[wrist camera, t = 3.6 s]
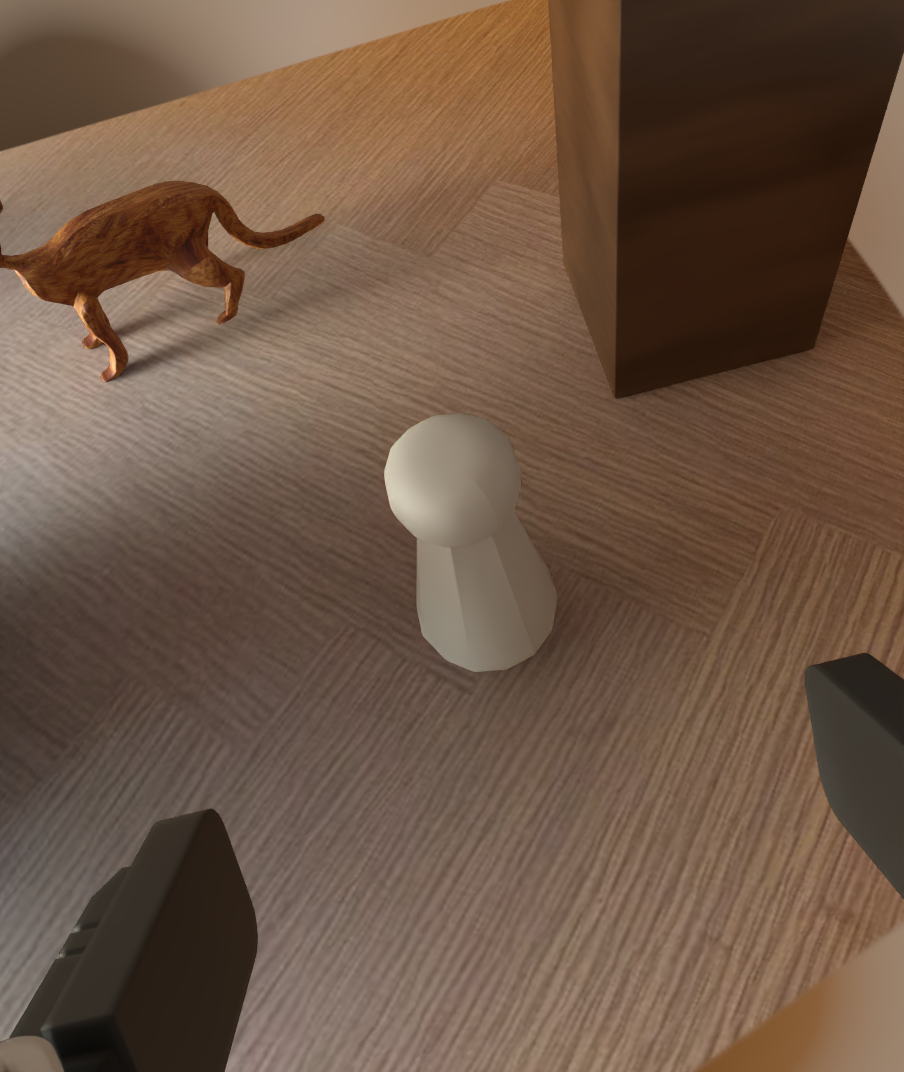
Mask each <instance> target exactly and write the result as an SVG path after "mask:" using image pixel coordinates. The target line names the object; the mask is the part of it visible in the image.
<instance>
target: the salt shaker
mask: <svg viewBox="0 0 904 1072" xmlns="http://www.w3.org/2000/svg"><path fill="white" fill-rule="evenodd" d="M384 476H385V485H386V489H387V494H388V498H389V502H390V507H391V509H392V511H393V513H394V515H395V516H396V518H397V519H398V520H399V521H400V522H401V523H402V524H403V525H404V526H405V527H406V528H407V529H408V530H409V531H410V532H411V533H412V534H413V535H414V536H415V537H417V612H418V617H419V622H420V626H421V631H422V636H423V637H424V638H425V639H426V640H427V641H428V642H429V643H430V644H431V645H432V646H433V647H434V648H435V649H436V651H437V652H438V653H439V654H440V655H441V656H442V657H443V658H444V659H445V660H446V661H448V662H451V663H453V664H456V665H458V666H461V667H463V668H466V669H468V670H470V671H473V672H483V671H495V670H507V669H509V668H510V667H512V666H514V665H516V664H518V663H520V662H522V661H524V660H526V659H528V658H529V657H531V656H533V655H534V654H535V653H536V652H537V650H538V649H539V648H540V646H541V645H542V644H543V642H544V641H545V640H546V638H547V637H548V635H549V634H550V633H551V631H552V629H553V623H554V617H555V611H556V605H557V600H558V595H557V592H556V589H555V586H554V584H553V581H552V578H551V575H550V572H549V569H548V568H547V566H546V564H545V562H544V561H543V559H542V557H541V556H540V554H539V552H538V550H537V549H536V547H535V545H534V544H533V542H532V540H531V539H530V537H529V535H528V533H527V532H526V530H525V528H524V527H523V525H522V523H521V521H520V520H519V518H518V516H517V515H516V513H515V511H514V510H515V508H516V505H517V501H518V496H519V492H520V487H521V482H522V479H521V469H520V467H519V464H518V461H517V458H516V456H515V453H514V450H513V447H512V445H511V443H510V441H509V439H508V437H507V436H506V435H505V434H504V433H503V432H502V431H501V430H500V429H499V428H497V427H496V426H495V425H494V424H493V423H492V422H491V421H490V420H488V419H485V418H481V417H477V416H473V415H470V414H466V413H453V414H443V415H434V416H432V417H430V418H428V419H426V420H424V421H422V422H420V423H418V424H416V425H414V426H412V427H410V428H409V429H408V430H407V431H406V432H405V433H404V434H403V435H402V436H401V437H400V439H399V440H398V441H397V442H396V443H395V444H394V445H393V446H392V447H391V449H390V453H389V456H388V460H387V464H386V467H385V471H384Z"/></svg>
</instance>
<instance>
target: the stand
mask: <svg viewBox="0 0 904 1072" xmlns="http://www.w3.org/2000/svg"><path fill="white" fill-rule="evenodd" d="M548 2H549V19H550V37H551V54H552V72H553V89H554V107H555V124H556V142H557V159H558V177H559V194H560V212H561V229H562V247H563V263H564V266H565V269H566V271H567V274H568V276H569V279H570V282H571V284H572V287H573V290H574V292H575V295H576V297H577V300H578V303H579V305H580V308H581V311H582V313H583V316H584V318H585V321H586V324H587V326H588V329H589V332H590V334H591V337H592V339H593V342H594V345H595V347H596V350H597V353H598V355H599V358H600V360H601V363H602V366H603V368H604V371H605V374H606V376H607V379H608V381H609V384H610V387H611V389H612V392H613V395H614V397H615V398H619V397H623V396H627V395H631V394H635V393H639V392H643V391H647V390H651V389H655V388H659V387H663V386H667V385H671V384H675V383H679V382H683V381H686V380H690V379H694V378H698V377H702V376H706V375H710V374H714V373H718V372H722V371H726V370H730V369H734V368H738V367H742V366H746V365H750V364H754V363H757V362H761V361H765V360H769V359H773V358H777V357H781V356H785V355H789V354H793V353H797V352H801V351H805V350H809V349H813V348H814V346H815V343H816V339H817V336H818V333H819V330H820V326H821V323H822V320H823V316H824V313H825V310H826V307H827V303H828V300H829V297H830V293H831V290H832V287H833V283H834V280H835V277H836V274H837V270H838V267H839V264H840V260H841V257H842V254H843V251H844V247H845V244H846V241H847V237H848V234H849V230H850V228H851V224H852V221H853V217H854V214H855V211H856V208H857V204H858V201H859V198H860V194H861V191H862V188H863V185H864V181H865V178H866V175H867V172H868V168H869V164H870V162H871V158H872V155H873V152H874V149H875V145H876V142H877V139H878V135H879V132H880V129H881V125H882V122H883V119H884V116H885V112H886V109H887V106H888V102H889V99H890V96H891V92H892V89H893V86H894V82H895V79H896V76H897V73H898V70H899V66H900V63H901V60H902V56H903V53H904V0H548Z"/></svg>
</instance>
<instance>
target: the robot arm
mask: <svg viewBox="0 0 904 1072" xmlns="http://www.w3.org/2000/svg"><path fill="white" fill-rule="evenodd" d="M805 687H806V694H807V700H808V706H809V712H810V719H811V725H812V731H813V737H814V744H815V750H816V756H817V762H818V769H819V774H820V778H821V782H822V785H823V788H824V791H825V794H826V797H827V799H828V801H829V803H830V806H831V808H832V810H833V811H834V813H835V815H836V816H837V818H838V820H839V821H840V822H841V823H842V825H843V826H844V827H845V828H846V830H847V831H848V832H849V833H850V834H851V836H852V837H853V838H854V839H855V840H856V842H857V843H858V844H859V845H860V847H861V848H862V849H863V850H864V851H865V853H866V854H867V855H868V856H869V857H870V859H871V860H872V861H873V862H874V864H875V865H876V866H877V867H878V868H879V870H880V871H881V872H882V873H883V874H884V876H885V877H886V878H887V879H888V881H889V882H890V883H891V884H892V885H893V887H894V888H895V889H896V890H897V891H898V893H899V894H900V895H901V896H902V898H903V899H904V679H902V678H901V677H900V676H898V675H897V674H896V673H894V672H893V671H892V670H890V669H889V668H888V667H886V666H885V665H884V664H882V663H881V662H880V661H878V660H877V659H876V658H874V657H873V656H871V655H870V654H868V653H861V654H857V655H853V656H849V657H845V658H841V659H836V660H832V661H828V662H824V663H820V664H816V665H811V666H809V667H807V669H806V672H805ZM74 930H75V932H74V933H71V934H70V935H69V937H68V939H67V940H66V942H65V944H64V945H63V947H62V949H61V951H60V952H59V954H60V958H59V959H55V961H54V963H53V964H52V966H51V968H50V969H49V971H48V973H47V974H46V976H45V978H44V980H43V981H42V983H41V985H40V986H39V988H38V990H37V991H36V993H35V995H34V997H33V998H32V1000H31V1002H30V1003H29V1005H28V1007H27V1008H26V1010H25V1012H24V1014H23V1015H22V1017H21V1019H20V1020H19V1022H18V1024H17V1025H16V1027H15V1029H14V1031H13V1032H12V1034H11V1036H10V1037H9V1039H7V1040H3V1041H1V1042H0V1072H225V1068H226V1064H227V1061H228V1057H229V1053H230V1050H231V1046H232V1042H233V1039H234V1035H235V1031H236V1028H237V1024H238V1020H239V1017H240V1013H241V1009H242V1006H243V1002H244V999H245V995H246V991H247V988H248V984H249V980H250V977H251V973H252V969H253V966H254V962H255V958H256V954H257V944H258V933H257V922H256V916H255V911H254V907H253V904H252V901H251V898H250V895H249V893H248V890H247V887H246V884H245V881H244V879H243V876H242V873H241V870H240V867H239V865H238V862H237V859H236V856H235V853H234V851H233V848H232V845H231V842H230V839H229V837H228V834H227V831H226V828H225V826H224V823H223V821H222V819H221V817H220V815H219V814H218V813H217V812H216V811H215V810H214V809H207V810H203V811H199V812H194V813H190V814H186V815H182V816H178V817H174V818H169V819H165V820H161V821H158V822H156V823H155V824H154V825H153V827H152V828H151V830H150V832H149V834H148V835H147V837H146V839H145V841H144V843H143V845H142V846H141V848H140V850H139V852H138V854H137V855H136V857H135V859H134V861H133V863H132V865H131V866H129V867H125V868H122V869H121V870H120V871H118V872H117V873H116V874H115V875H114V876H113V877H112V878H111V879H110V880H109V881H108V882H107V883H106V884H105V885H104V886H103V887H102V888H101V889H100V890H99V891H98V892H97V893H96V894H95V895H94V896H93V897H92V898H91V900H90V901H89V903H88V905H87V906H86V908H85V910H84V911H83V913H82V915H81V917H80V918H79V920H78V922H77V923H76V925H75V927H74Z"/></svg>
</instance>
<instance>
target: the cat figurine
mask: <svg viewBox="0 0 904 1072" xmlns="http://www.w3.org/2000/svg"><path fill="white" fill-rule="evenodd" d="M2 209H3V206H2V203H1V201H0V213H1V211H2ZM213 212H215V214H216V217H217V218H218V220H219V222H220V223H221V225H222V226H223V227H224V228H225V230H226V231H227V232H228V233H229V234H230V235H231V236H232V237H234V238H235V239H236V240H238V241H239V242H241V243H243V244H245V245H247V246H250V247H253V248H259V249H266V248H273V247H277V246H280V245H283V244H286V243H288V242H290V241H292V240H294V239H296V238H298V237H300V236H302V235H303V234H305V233H307V232H308V231H310V230H312V229H314V228H315V227H317V226H318V225H320V224H321V223H322V222H323V221H324V216H322V215H321V214H315V215H312V216H309V217H307V218H305V219H303V220H301V221H299V222H297V223H295V224H294V225H292V226H289V227H287V228H285V229H283V230H279V231H274V232H266V233H260V232H254V231H252V230H250V229H249V228H247V227H246V226H245V225H244V224H242V222H241V221H240V220H239V219H238V217H237V215H236V214H235V212H234V210H233V208H232V207H231V205H230V204H229V202H228V201H227V200H226V199H225V198H224V197H223V196H222V195H221V194H220V193H219V192H217V191H215V190H213V189H212V188H210V187H208V186H205V185H201V184H197V183H193V182H184V181H167V182H162V183H157V184H154V185H151V186H148V187H145V188H143V189H141V190H138V191H136V192H133V193H131V194H128V195H126V196H123V197H120V198H117V199H115V200H112V201H109V202H107V203H104V204H102V205H99V206H97V207H95V208H92V209H90V210H87V211H85V212H83V213H82V214H80V215H78V216H77V217H75V218H73V219H72V220H70V221H69V222H68V223H67V224H66V225H64V226H63V227H62V228H61V229H60V230H59V231H58V232H57V233H56V235H55V236H54V237H53V238H52V239H51V240H50V241H49V242H47V243H46V244H45V245H44V246H42V247H40V248H37V249H34V250H32V251H29V252H27V253H25V254H21V255H13V256H8V255H2V254H1V246H0V268H7V269H11V270H14V271H15V272H16V274H17V275H18V276H19V278H20V280H21V281H22V283H23V285H24V286H25V287H26V288H27V289H28V290H29V292H30V293H31V294H33V295H35V296H37V297H39V298H41V299H43V300H45V301H49V302H55V303H61V304H66V305H71V306H74V308H75V309H76V311H77V313H78V314H79V316H80V318H81V319H82V321H83V323H84V325H85V326H86V327H87V329H88V330H89V331H90V334H89V335H88V336H87V337H86V338H84V339H83V342H82V343H83V346H84V347H85V348H87V349H93V348H96V347H97V346H99V345H100V344H101V343H102V342H103V343H104V344H106V345H107V347H108V348H109V350H110V366H109V367H108V368H107V369H106V370H105V371H104V372H102V373H101V378H102V380H103V381H104V382H109V381H111V380H113V379H115V378H117V377H118V376H119V375H120V374H121V373H122V372H123V371H124V370H125V368H126V366H127V363H128V353H127V350H126V349H125V347H124V345H123V344H122V342H121V340H120V339H119V337H118V336H117V334H116V333H115V332H114V330H113V329H112V328H111V327H110V323H109V320H108V318H107V316H106V315H105V313H104V311H103V310H102V307H101V305H100V303H99V301H98V298H97V297H98V296H99V295H100V294H101V293H102V292H103V291H104V290H107V289H110V288H113V287H115V286H118V285H121V284H123V283H126V282H129V281H131V280H134V279H137V278H139V277H142V276H145V275H148V274H151V273H154V272H157V271H167V270H170V271H173V272H175V273H177V274H178V275H179V276H181V277H182V278H184V279H186V280H188V281H190V282H192V283H195V284H198V285H201V286H204V287H222V288H224V290H225V292H226V293H225V307H226V311H224V312H223V313H222V314H221V315H219V316H218V318H217V321H216V322H217V323H218V324H221V323H224V322H226V321H228V320H230V319H232V318H233V317H234V316H236V313H237V310H238V302H239V299H240V296H241V293H242V289H243V284H244V278H245V272H244V271H243V270H241V269H238V268H235V267H233V266H231V265H228V264H227V263H225V262H223V261H222V260H221V259H219V258H218V257H217V256H216V255H214V254H213V253H212V252H211V251H209V249H208V229H209V225H210V221H211V217H212V213H213Z"/></svg>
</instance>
